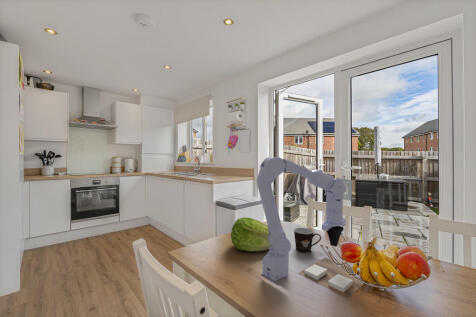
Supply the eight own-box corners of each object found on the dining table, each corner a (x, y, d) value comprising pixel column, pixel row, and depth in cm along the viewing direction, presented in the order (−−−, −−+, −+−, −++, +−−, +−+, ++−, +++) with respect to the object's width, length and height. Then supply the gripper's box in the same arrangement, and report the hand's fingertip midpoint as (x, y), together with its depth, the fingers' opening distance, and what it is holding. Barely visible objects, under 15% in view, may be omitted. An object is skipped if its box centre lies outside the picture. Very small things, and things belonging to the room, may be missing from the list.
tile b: (352, 284, 72) (343, 293, 68) (337, 278, 76) (328, 285, 72) (352, 280, 72) (343, 288, 68) (338, 273, 76) (328, 281, 72)
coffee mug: (291, 253, 98) (292, 232, 98) (295, 246, 106) (296, 226, 106) (319, 259, 93) (319, 236, 93) (321, 251, 101) (321, 230, 100)
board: (348, 301, 66) (348, 297, 66) (297, 276, 80) (297, 273, 80) (372, 278, 78) (372, 275, 78) (325, 260, 92) (325, 257, 92)
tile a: (327, 273, 79) (316, 280, 75) (314, 268, 83) (304, 274, 79) (327, 269, 79) (317, 275, 75) (314, 264, 83) (304, 270, 79)
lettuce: (278, 262, 91) (283, 228, 93) (224, 248, 99) (230, 216, 100) (281, 252, 108) (285, 223, 109) (235, 240, 115) (239, 213, 116)
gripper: (335, 215, 75) (335, 254, 75) (353, 209, 84) (353, 243, 84) (316, 211, 80) (316, 247, 80) (335, 205, 89) (335, 238, 89)
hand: (333, 245), depth 82 cm, fingers closed
